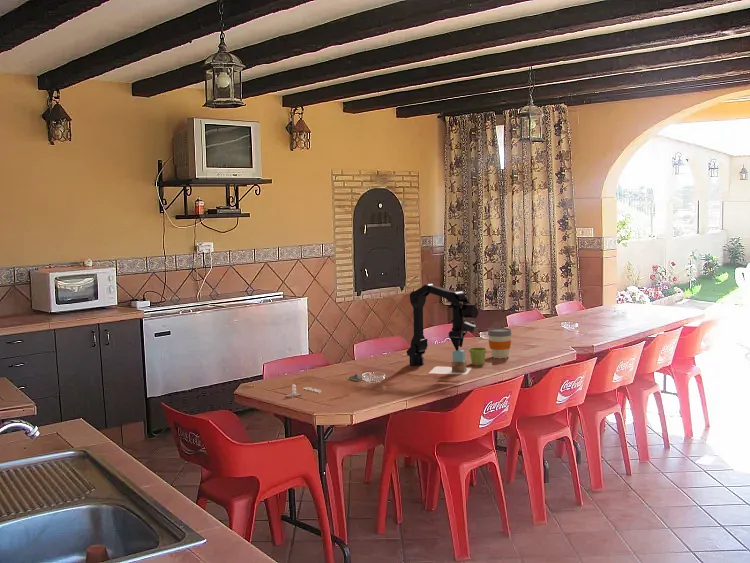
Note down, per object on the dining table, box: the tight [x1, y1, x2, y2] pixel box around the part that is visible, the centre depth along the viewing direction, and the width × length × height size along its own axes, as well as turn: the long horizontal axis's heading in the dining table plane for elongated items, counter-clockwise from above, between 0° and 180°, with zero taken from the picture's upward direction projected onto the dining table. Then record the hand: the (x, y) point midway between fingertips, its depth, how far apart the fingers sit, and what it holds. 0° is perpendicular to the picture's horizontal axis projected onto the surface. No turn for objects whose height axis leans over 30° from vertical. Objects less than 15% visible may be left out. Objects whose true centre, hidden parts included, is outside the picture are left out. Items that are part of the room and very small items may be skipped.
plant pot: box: [467, 346, 488, 366], centre depth 393 cm, size 9×9×9 cm
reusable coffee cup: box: [487, 327, 512, 359], centre depth 412 cm, size 13×13×15 cm
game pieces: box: [284, 373, 363, 399], centre depth 357 cm, size 45×13×6 cm, turn 133°
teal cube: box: [452, 349, 466, 362], centre depth 376 cm, size 5×5×5 cm
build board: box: [428, 365, 473, 376], centre depth 379 cm, size 19×16×1 cm
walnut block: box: [451, 359, 467, 372], centre depth 377 cm, size 6×6×5 cm
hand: (458, 348), depth 376 cm, fingers open, 9 cm apart
